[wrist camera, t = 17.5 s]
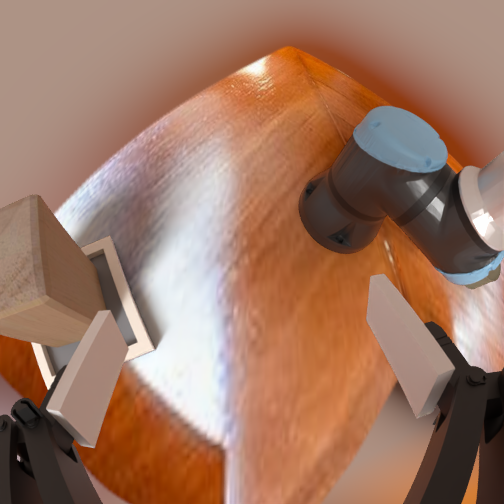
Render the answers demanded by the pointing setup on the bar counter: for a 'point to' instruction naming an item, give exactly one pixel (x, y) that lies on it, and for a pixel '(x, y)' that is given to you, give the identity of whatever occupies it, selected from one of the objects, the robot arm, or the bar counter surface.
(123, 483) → the bar counter surface
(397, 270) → the bar counter surface
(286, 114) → the bar counter surface
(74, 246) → the wooden block
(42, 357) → the locating plate
